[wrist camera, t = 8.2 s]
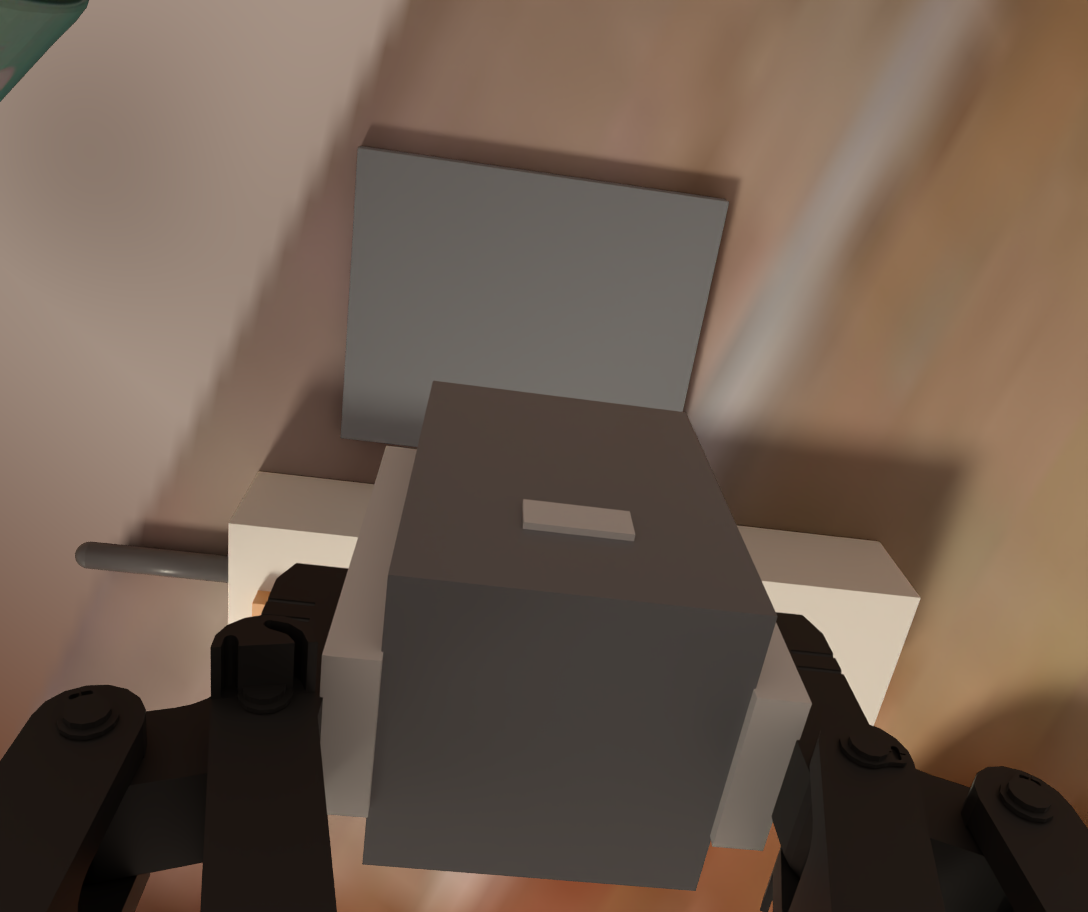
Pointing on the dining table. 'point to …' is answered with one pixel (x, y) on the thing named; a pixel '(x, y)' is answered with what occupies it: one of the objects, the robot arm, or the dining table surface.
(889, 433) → the dining table surface
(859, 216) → the dining table surface
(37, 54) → the box
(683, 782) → the charger
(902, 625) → the strip
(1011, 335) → the dining table surface
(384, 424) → the mat
